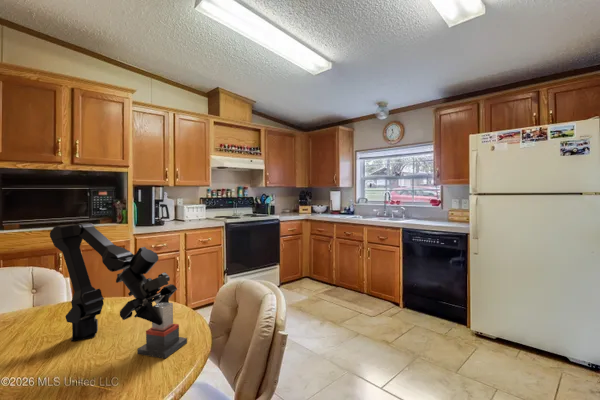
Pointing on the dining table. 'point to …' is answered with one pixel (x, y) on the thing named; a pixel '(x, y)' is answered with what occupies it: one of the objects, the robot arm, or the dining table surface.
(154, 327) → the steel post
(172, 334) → the stand
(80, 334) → the robot arm
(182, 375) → the dining table surface
